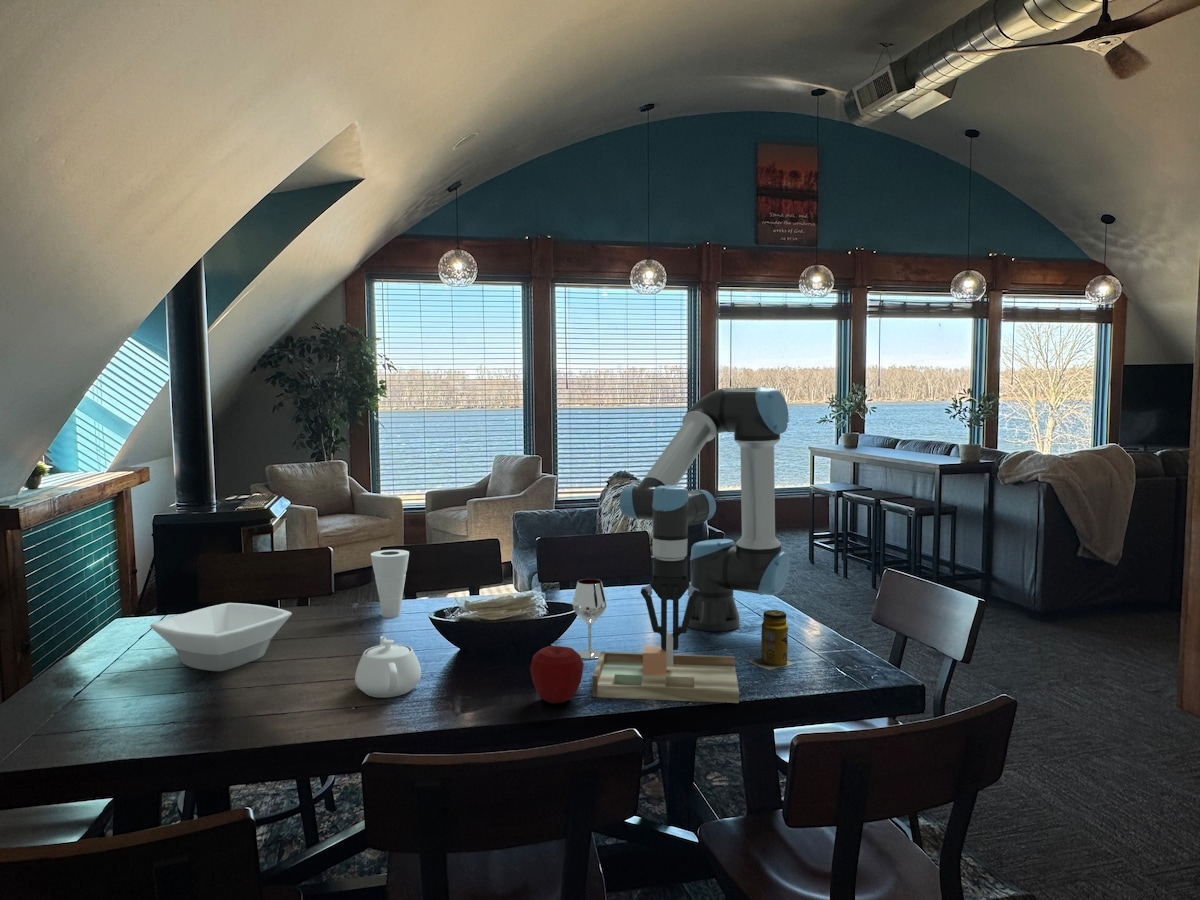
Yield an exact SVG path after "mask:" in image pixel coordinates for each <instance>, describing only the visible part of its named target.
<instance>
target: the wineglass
mask: <svg viewBox="0 0 1200 900" xmlns="http://www.w3.org/2000/svg"><path fill="white" fill-rule="evenodd" d="M606 598H607V597H606V593H605V590H604V586H603V582H602V580H600V579H598V578H597V579H596V578H583V579H579V580H577V582H576V587H575V590H574V595H573V601H572V608H573V611H574V613H575V615H577V616H578V617H579V618H580V619H581V620H582V621H583V622H584V623H585V624H586V625H587V649H584V650H580V651H578V652H577V653H578V654H579V655H580V656H581V659H582V660H596V659H599V656H600V653H601V652H602V651H600V650H596V649H593V647H592V626H593V625H594V623H595V622H596V621H597V620H598V619H599V618H601V617H602V615H604V613H605V612H606V609H607V606H608V605H607V603H608V602H607V599H606Z"/></svg>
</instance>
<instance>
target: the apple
mask: <svg viewBox="0 0 1200 900" xmlns="http://www.w3.org/2000/svg"><path fill="white" fill-rule="evenodd" d="M584 666H585V665H584V661H583V659H582V658H581V656H580V655H579V654H578V652H577V651H576V650H575V649H573V648H572V647H568V646H561V645H560V646H558V645H551V646H550V645H549V646H546V647H543V648H541V649H539V650H538V651H537V652H535V653H534V655H533V657H532V659H531V662H530V666H529V670H530V671H529V672H530V675H531V680H532V681H531V682H532V683H533V686H534V687H535V691H536V693H537V695H538V697H539V698H541V699H542V700H544V701H546V702H547V703H549V704H553V705H554V704H563V703H566V702H568V701H569V700H570V699H572V698H573V697H575V696H576V695H577V691H578V689H579V687H580V685H581V683H582V677H583V672H584Z"/></svg>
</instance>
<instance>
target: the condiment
mask: <svg viewBox="0 0 1200 900" xmlns="http://www.w3.org/2000/svg"><path fill="white" fill-rule="evenodd" d="M762 619H763V621H762V623H761V637H760V638H761V639H760V640H761V643H760V644H761V647H760V648H761V651H760V653H761V655H760V657H757V658H754V659H748V660H747V662H749V663H751V664H752V665H755V666H756V667H759V668H762V669H765V670H767V671H771V670H775V669H779V668H784V667H788V666H792V665H795V664H796V662H794V661H789V660H788V644H789V643H788V641H789V639H788V638H789V637H788V633H789V631H788V630H789V628H788V627H789V625H788V623H787V613H786V612H784V611H783V610H778V609H767V610H764V612H763V618H762Z"/></svg>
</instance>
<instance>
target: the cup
mask: <svg viewBox="0 0 1200 900" xmlns="http://www.w3.org/2000/svg"><path fill="white" fill-rule="evenodd" d="M409 556H410V551H409V550H405V549H382V550H377V551H373V552H371V553H370V558H371V562H372V563H371V564H372V568H373V573H374V579H375V584H376V588H377V595H378V600H379V605H380V609H381V614H382V615H381V616H382V617H383V618H387V619H389V618H391V619H392V618H397V617H399V616H400V615H401V611H402V603H403V594H404V588H405V582H406V576H407V574H406V573H407V570H408V564H409Z"/></svg>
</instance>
